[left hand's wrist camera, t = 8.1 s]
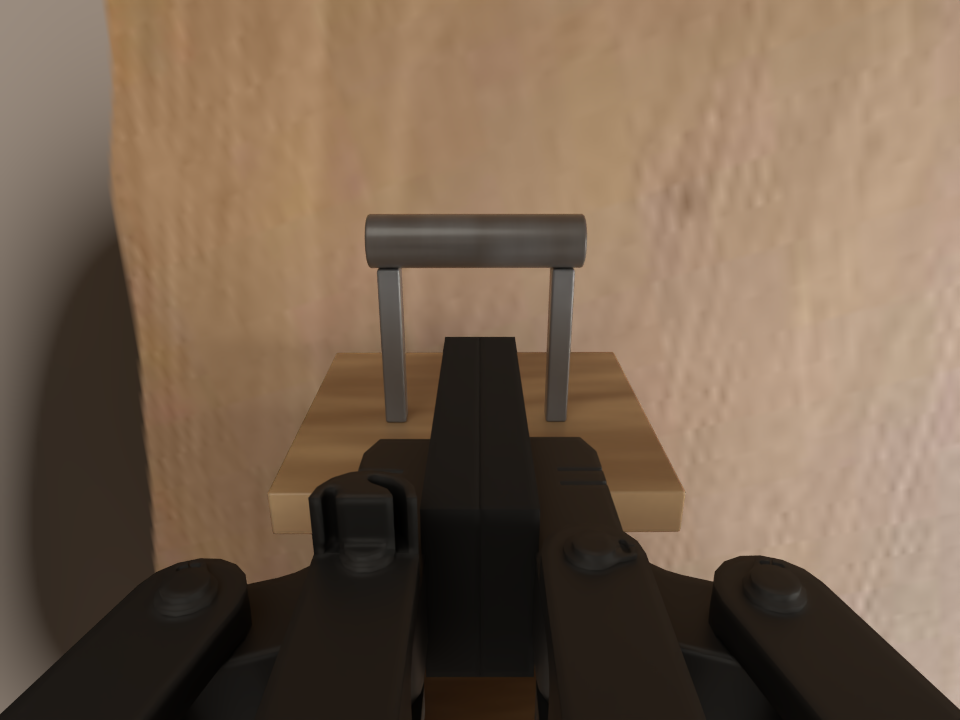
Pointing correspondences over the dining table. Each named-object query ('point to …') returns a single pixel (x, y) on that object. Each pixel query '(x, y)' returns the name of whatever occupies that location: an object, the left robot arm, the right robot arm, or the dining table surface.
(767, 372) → the dining table surface
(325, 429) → the drawer
